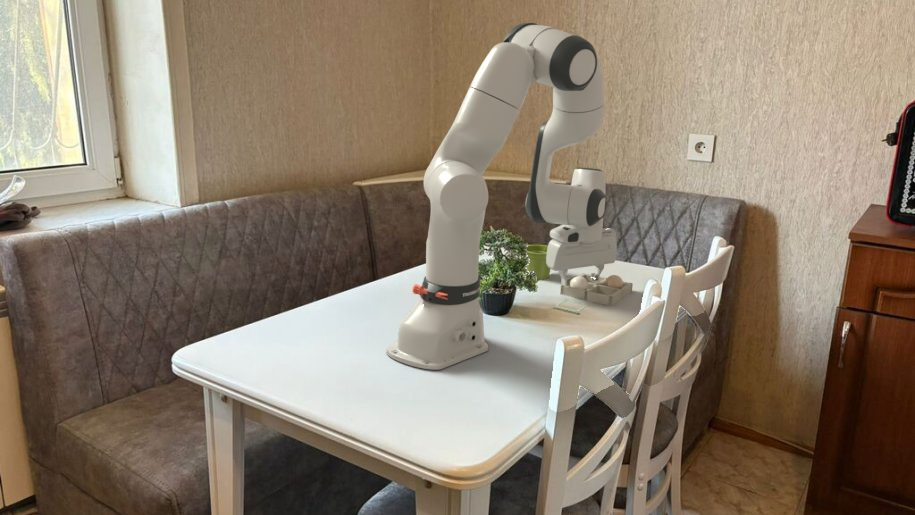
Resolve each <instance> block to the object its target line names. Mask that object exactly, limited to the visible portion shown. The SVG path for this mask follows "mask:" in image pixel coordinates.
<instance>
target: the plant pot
mask: <svg viewBox="0 0 915 515" xmlns="http://www.w3.org/2000/svg"><path fill="white" fill-rule="evenodd" d="M526 246H528V247H527V255H528V257H529V258H530V263H529V265H528V267H527V270H528V271H529V272H530V271H534V272H536V276H537V281H536V282H540V281H541V280H547V279H549V278H550V275H551V274H550V273H551V269H550V268H548V266H547V264H546V256H547V249H548V245H547V244H545V245H544V244H528V245H526Z"/></svg>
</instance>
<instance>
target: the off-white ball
mask: <svg viewBox="0 0 915 515" xmlns="http://www.w3.org/2000/svg"><path fill="white" fill-rule="evenodd" d="M570 281H571V282H570V287H573V288H577V289H582V290H587V288H588V282H587V280H586V279H585V278H584V277H581V276H580V275H578V276H574V277H573V278H572V279H570Z"/></svg>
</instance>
